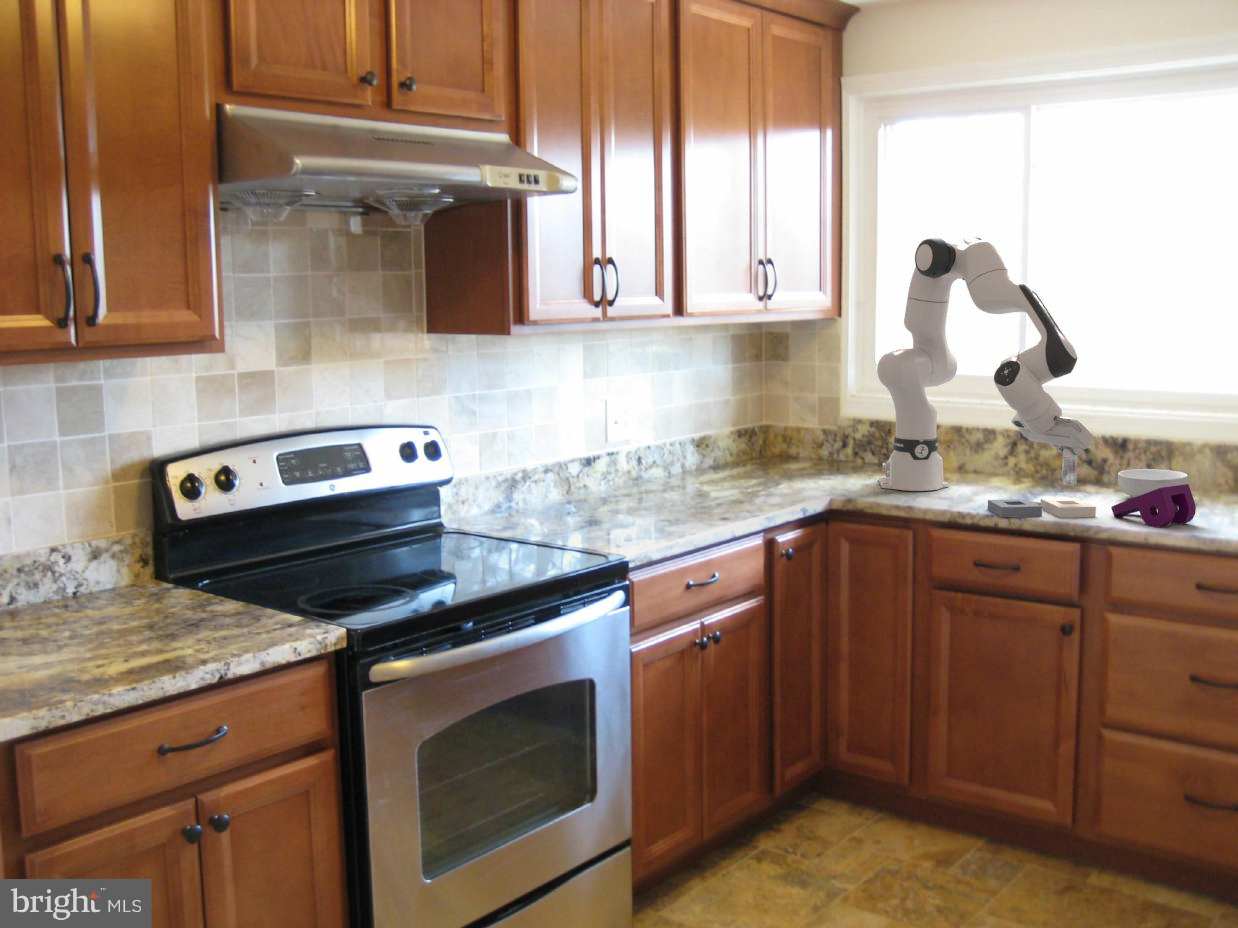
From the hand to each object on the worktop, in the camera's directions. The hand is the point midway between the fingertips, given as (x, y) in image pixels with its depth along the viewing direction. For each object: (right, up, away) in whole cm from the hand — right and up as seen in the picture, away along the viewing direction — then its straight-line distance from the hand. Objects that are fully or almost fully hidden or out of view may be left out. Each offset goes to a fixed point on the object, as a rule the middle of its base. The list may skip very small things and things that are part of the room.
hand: (1072, 452), depth 298 cm
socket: (-13, -15, +3) cm, 20 cm away
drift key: (-6, -14, +12) cm, 19 cm away
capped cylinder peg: (0, -8, +1) cm, 8 cm away
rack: (0, -15, +2) cm, 15 cm away
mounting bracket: (+15, -17, -9) cm, 24 cm away
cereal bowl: (+27, -12, +17) cm, 34 cm away
